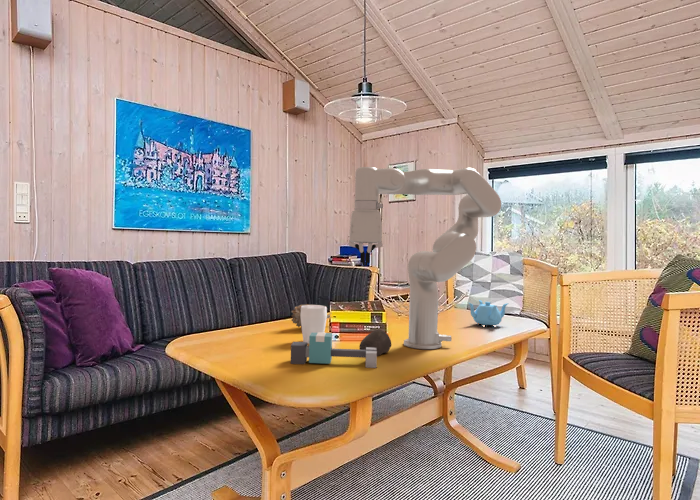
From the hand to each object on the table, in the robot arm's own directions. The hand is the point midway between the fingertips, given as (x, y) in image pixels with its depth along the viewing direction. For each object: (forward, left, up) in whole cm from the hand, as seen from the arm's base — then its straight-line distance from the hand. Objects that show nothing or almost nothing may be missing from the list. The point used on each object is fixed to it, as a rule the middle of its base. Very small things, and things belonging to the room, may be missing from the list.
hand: (364, 265), depth 148 cm
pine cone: (+19, -34, -27) cm, 48 cm away
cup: (+17, -10, -27) cm, 34 cm away
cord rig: (+8, +16, -27) cm, 32 cm away
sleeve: (+12, +16, -27) cm, 34 cm away
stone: (-4, +2, -28) cm, 28 cm away
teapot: (-52, -51, -27) cm, 78 cm away
